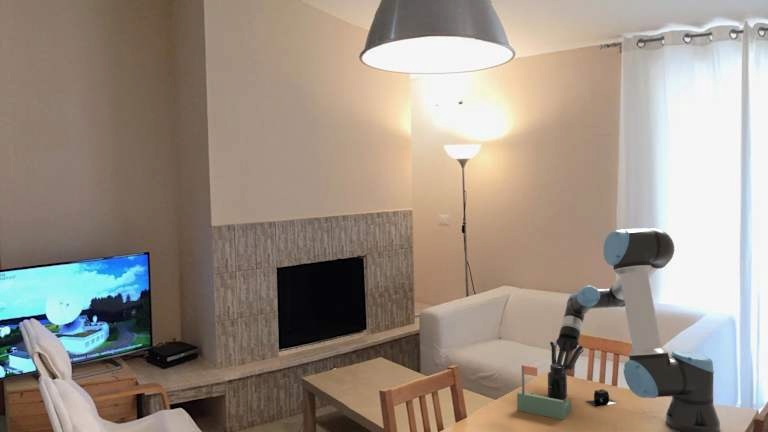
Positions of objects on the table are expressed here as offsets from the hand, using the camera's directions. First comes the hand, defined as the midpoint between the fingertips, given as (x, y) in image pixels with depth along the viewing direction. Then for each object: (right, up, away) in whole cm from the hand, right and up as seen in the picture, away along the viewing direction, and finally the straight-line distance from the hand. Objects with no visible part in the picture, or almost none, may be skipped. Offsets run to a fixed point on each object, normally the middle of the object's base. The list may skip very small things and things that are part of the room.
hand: (557, 384), depth 213 cm
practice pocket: (-9, -5, -15) cm, 18 cm away
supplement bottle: (-1, -4, -4) cm, 6 cm away
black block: (+13, -4, -10) cm, 17 cm away
